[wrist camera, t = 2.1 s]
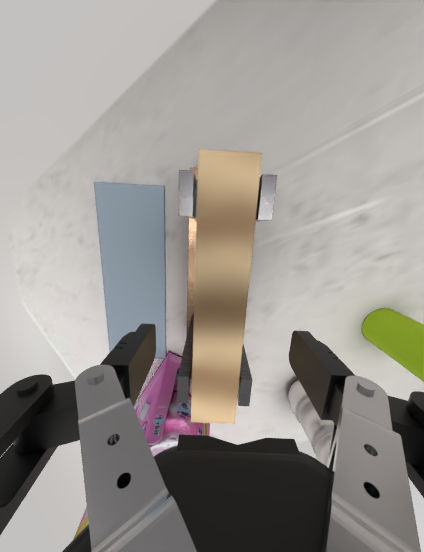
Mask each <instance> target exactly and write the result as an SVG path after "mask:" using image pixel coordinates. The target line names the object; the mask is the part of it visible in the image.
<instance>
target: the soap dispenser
mask: <svg viewBox="0 0 424 552" xmlns="http://www.w3.org/2000/svg"><path fill="white" fill-rule="evenodd" d="M362 333H363V335H364V337H365V338H366V339H367V340H369V341H370V342H371V343H373V344H374V345H375V346H377V347H378V348H379V349H381V350H382V351H383V352H385V353H386V354H387V355H389V356H390V357H391V358H393V359H394V360H395V361H397V362H398V363H399V364H401V365H402V366H403V367H405V368H406V369H407V370H409V371H410V372H411V373H413V374H414V375H415V376H417V377H418V378H419V379H421V380H422V381H423V382H424V325H423V324H421V323H419V322H417V321H415V320H413V319H411V318H408V317H406V316H404V315H402V314H400V313H398V312H396V311H394V310H391V309H379V310H376V311H374V312H372V313H371V314H369V315H368V316H367V317H366V319H365V320H364V322H363V325H362Z"/></svg>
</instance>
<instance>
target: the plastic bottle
mask: <svg viewBox="0 0 424 552" xmlns="http://www.w3.org/2000/svg"><path fill="white" fill-rule="evenodd" d="M288 398H289V403H290V407H291V409H292V411H293V413H294V415H295V416H296V418H297V420H298V421H299V423H300V424H301V425H302V427H303V429H304V431H305V433H306V435H307V437H308V439H309V441H310V443H311V445H312V447H313V450H314V452H315V454H316V457H317V460H318V461H320V462H321V463H323V464H324V465H326V466H327V460H328V454H329V448H330V443H331V437H332V431H333V427H334V423H333V421H332V420H321V419H320V417H319V415H318V414H317V412H316V410H315V408H314V406H313V405H312V403H311V401H310V399H309V398H308V396H307V394H306V392H305V390H304V389H303V387H302V385H301V383H300V381H299V380H297V381H295V382H294V383H293V384H292V386H291V387H290V390H289V394H288Z"/></svg>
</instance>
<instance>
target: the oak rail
mask: <svg viewBox="0 0 424 552" xmlns="http://www.w3.org/2000/svg"><path fill="white" fill-rule="evenodd" d="M261 160H262V153H255V152H237V151H219V150H200V149H199V160H198V194H197V228H196V261H195V295H194V329H193V363H192V397H191V422H200V423H222V424H235V415H236V405H237V396H238V386H239V376H240V366H241V356H242V347H243V337H244V327H245V317H246V307H247V297H248V288H249V278H250V268H251V258H252V248H253V239H254V229H255V219H256V209H257V199H258V189H259V180H260V170H261Z"/></svg>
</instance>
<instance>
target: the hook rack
mask: <svg viewBox="0 0 424 552" xmlns="http://www.w3.org/2000/svg"><path fill="white" fill-rule="evenodd" d="M276 181H277V175H262V176H261V177H260V180H259V189H258V199H257V209H256V219H255V221H268V220H272V214H273V206H274V198H275V190H276ZM197 194H198V168H190V171H188V170H179V216H183V217H187V218H189V250H188V300H187V338H186V343H185V347H184V351H183V355H182V360H181V364H180V368H179V372H178V385H177V403H188V399H189V392H190V385H191V379H192V363H193V329H194V295H195V261H196V228H197ZM251 386H252V377H251V373H250V369H249V365H248V361H247V357H246V353H245V349H244V345H243V347H242V356H241V366H240V376H239V386H238V396H237V398H238V405H239V406H249V403H250V394H251Z"/></svg>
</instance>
